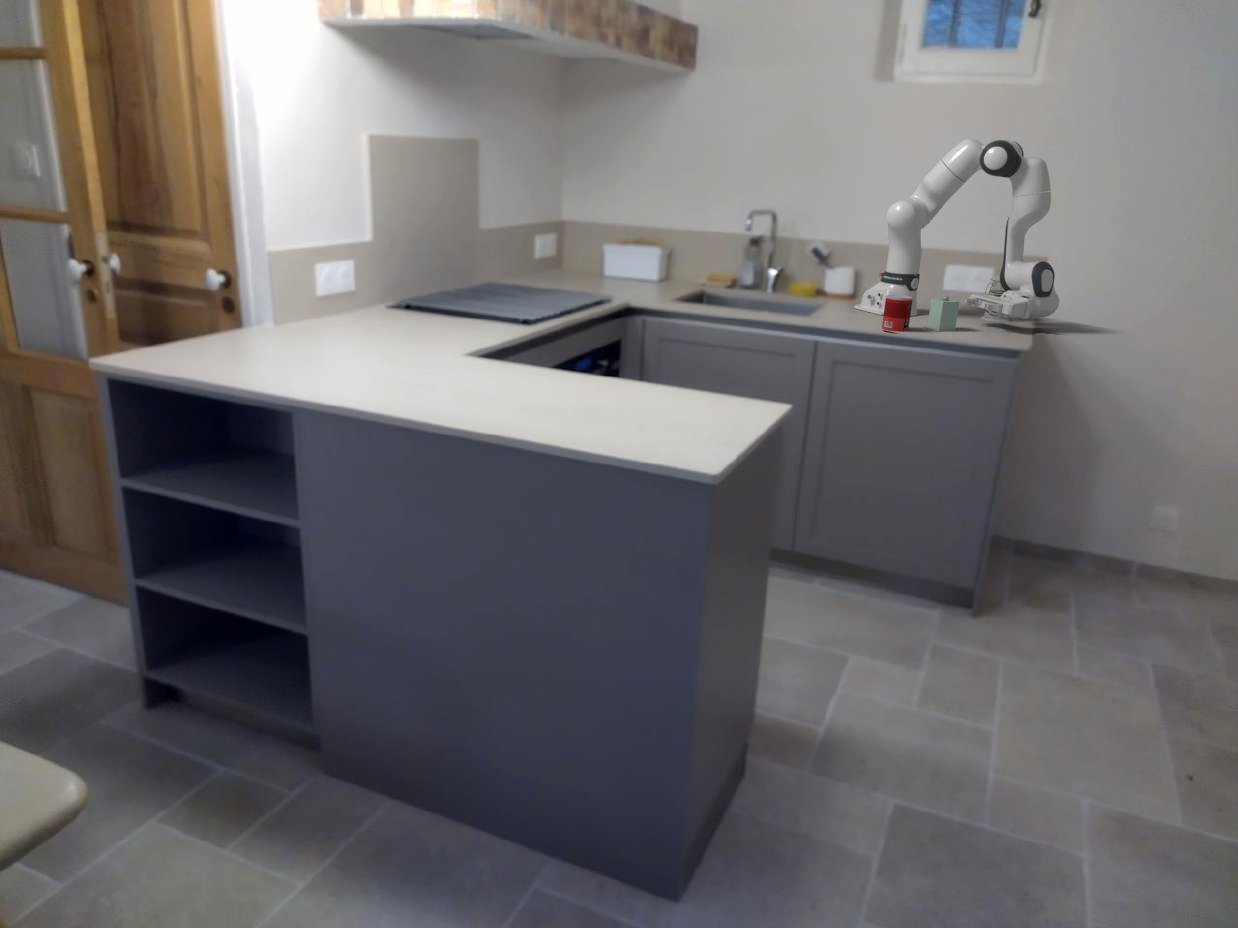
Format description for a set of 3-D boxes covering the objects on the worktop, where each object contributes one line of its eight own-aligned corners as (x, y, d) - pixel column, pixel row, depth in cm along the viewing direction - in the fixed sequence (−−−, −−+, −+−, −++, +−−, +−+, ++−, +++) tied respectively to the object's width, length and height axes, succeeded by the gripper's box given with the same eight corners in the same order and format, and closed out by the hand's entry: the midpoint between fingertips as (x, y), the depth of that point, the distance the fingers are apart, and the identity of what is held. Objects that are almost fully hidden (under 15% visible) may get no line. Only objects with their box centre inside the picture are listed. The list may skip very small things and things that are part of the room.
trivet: (919, 329, 290) (920, 326, 290) (943, 328, 293) (944, 326, 293) (937, 334, 282) (937, 331, 282) (961, 334, 285) (961, 331, 285)
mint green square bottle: (927, 327, 289) (932, 295, 286) (943, 327, 291) (948, 295, 288) (938, 330, 284) (943, 298, 280) (954, 330, 285) (960, 298, 282)
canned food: (909, 334, 280) (914, 299, 276) (882, 332, 281) (887, 297, 277) (906, 330, 287) (911, 295, 283) (880, 328, 288) (885, 293, 284)
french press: (992, 322, 310) (1005, 247, 302) (971, 316, 320) (983, 243, 312) (1016, 322, 312) (1030, 247, 304) (995, 316, 323) (1007, 244, 315)
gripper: (992, 289, 301) (957, 289, 297) (1036, 299, 283) (999, 299, 278) (988, 308, 303) (953, 308, 299) (1032, 320, 285) (995, 320, 281)
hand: (976, 304), depth 288 cm, fingers open, 8 cm apart
